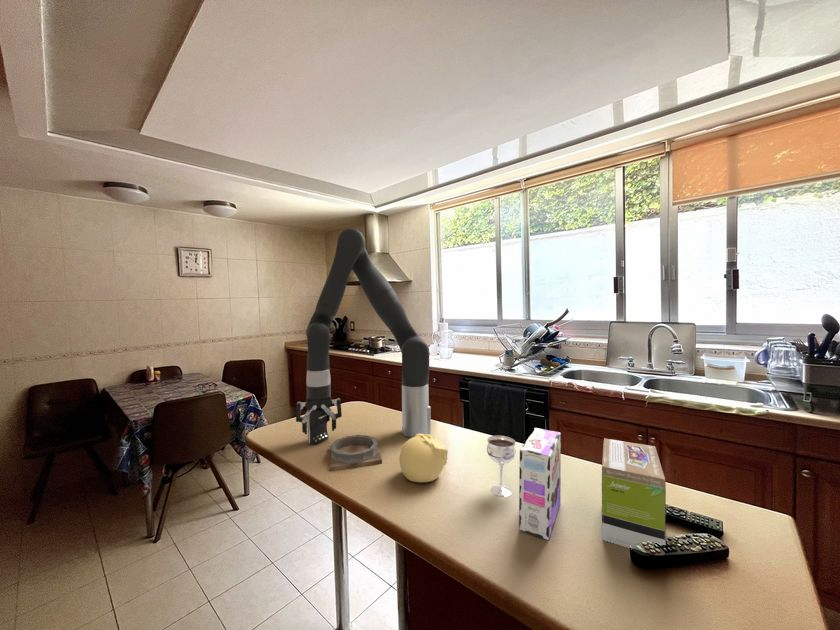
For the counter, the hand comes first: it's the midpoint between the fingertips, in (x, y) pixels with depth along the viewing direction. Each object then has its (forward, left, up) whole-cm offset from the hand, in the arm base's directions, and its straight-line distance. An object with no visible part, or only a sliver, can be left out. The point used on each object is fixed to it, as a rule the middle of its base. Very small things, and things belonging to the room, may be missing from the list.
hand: (319, 431), depth 108 cm
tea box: (-60, +62, -3) cm, 86 cm away
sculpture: (-26, +31, -3) cm, 41 cm away
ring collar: (-10, +14, -3) cm, 17 cm away
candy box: (-45, +54, -3) cm, 70 cm away
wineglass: (-42, +43, -3) cm, 60 cm away
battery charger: (0, 0, -3) cm, 3 cm away
